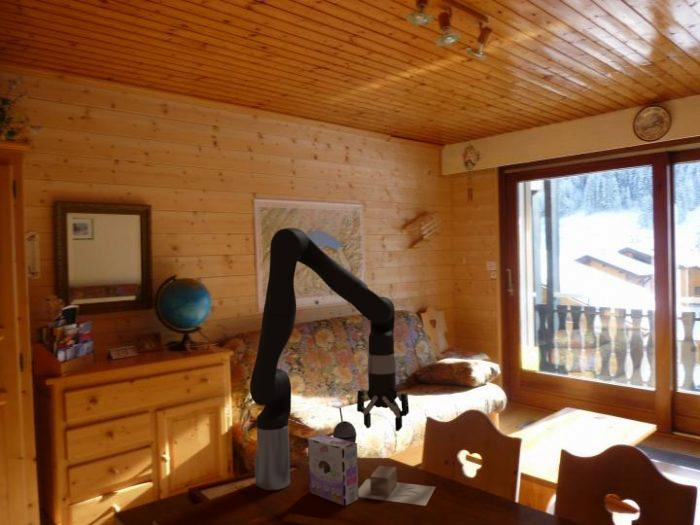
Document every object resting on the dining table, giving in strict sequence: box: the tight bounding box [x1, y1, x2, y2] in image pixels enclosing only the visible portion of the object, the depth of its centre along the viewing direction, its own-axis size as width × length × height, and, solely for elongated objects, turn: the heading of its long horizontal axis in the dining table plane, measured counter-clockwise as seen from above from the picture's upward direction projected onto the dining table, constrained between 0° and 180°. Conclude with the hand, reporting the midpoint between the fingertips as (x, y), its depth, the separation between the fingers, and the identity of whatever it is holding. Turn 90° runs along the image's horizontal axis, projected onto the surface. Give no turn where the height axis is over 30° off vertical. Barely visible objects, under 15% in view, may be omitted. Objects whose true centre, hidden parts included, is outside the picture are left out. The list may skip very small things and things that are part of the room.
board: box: [358, 478, 436, 507], centre depth 149 cm, size 20×12×2 cm, turn 69°
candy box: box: [306, 433, 360, 507], centre depth 148 cm, size 14×6×16 cm, turn 47°
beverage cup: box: [332, 407, 358, 443], centre depth 167 cm, size 7×7×20 cm
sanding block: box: [369, 465, 398, 497], centre depth 150 cm, size 5×8×5 cm, turn 159°
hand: (383, 428), depth 150 cm, fingers open, 8 cm apart
